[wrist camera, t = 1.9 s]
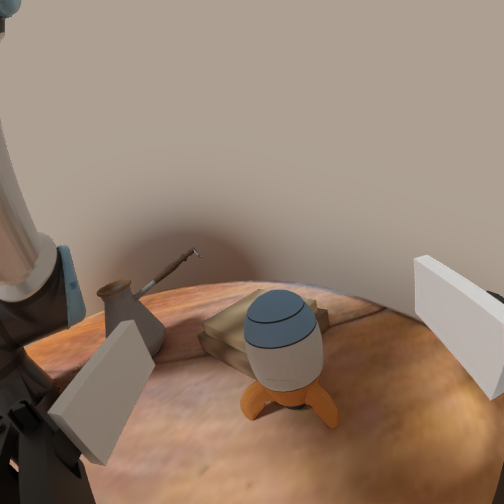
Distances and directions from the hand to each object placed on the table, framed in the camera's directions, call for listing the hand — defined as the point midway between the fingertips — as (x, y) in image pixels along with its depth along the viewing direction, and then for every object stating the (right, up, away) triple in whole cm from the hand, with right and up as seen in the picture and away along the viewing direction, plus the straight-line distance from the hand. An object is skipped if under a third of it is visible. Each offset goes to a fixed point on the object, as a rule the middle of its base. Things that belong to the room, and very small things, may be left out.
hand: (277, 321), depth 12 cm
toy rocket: (+4, -14, +14) cm, 21 cm away
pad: (+1, -10, +30) cm, 31 cm away
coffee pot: (-16, -13, +35) cm, 41 cm away
